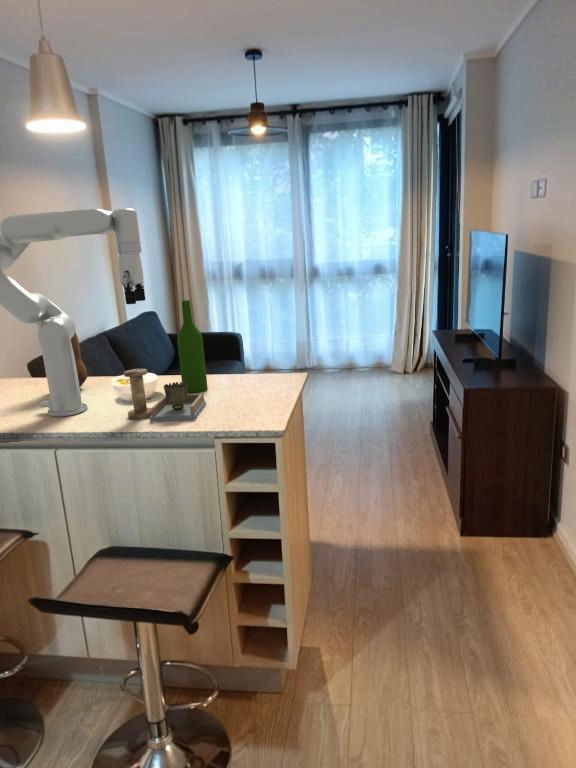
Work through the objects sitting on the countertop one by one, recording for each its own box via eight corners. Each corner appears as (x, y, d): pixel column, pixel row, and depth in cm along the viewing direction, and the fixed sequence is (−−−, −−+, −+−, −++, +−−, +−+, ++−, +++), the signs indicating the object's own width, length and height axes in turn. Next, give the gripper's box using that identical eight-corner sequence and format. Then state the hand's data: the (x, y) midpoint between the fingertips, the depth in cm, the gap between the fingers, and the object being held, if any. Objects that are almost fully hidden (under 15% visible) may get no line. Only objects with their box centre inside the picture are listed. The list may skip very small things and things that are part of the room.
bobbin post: (124, 420, 184) (118, 374, 181) (133, 412, 192) (127, 369, 188) (149, 419, 183) (144, 373, 180) (157, 411, 191) (151, 367, 188)
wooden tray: (150, 421, 180) (148, 409, 180) (164, 407, 196) (163, 395, 195) (195, 419, 179) (194, 407, 178) (206, 405, 195) (204, 393, 194)
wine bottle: (202, 386, 221) (192, 298, 213) (211, 390, 213) (202, 299, 205) (179, 390, 216) (169, 301, 209) (188, 395, 209) (178, 302, 201)
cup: (191, 410, 184) (188, 385, 182) (167, 413, 183) (164, 388, 181) (188, 404, 191) (186, 380, 189) (165, 407, 190) (162, 383, 188)
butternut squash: (62, 387, 236) (51, 324, 230) (94, 385, 235) (85, 322, 229) (46, 396, 222) (34, 330, 216) (80, 394, 221) (70, 328, 215)
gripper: (126, 249, 199) (133, 300, 203) (108, 250, 182) (115, 306, 186) (148, 247, 198) (154, 298, 202) (131, 248, 181) (139, 304, 185)
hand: (136, 302), depth 194 cm, fingers open, 9 cm apart
